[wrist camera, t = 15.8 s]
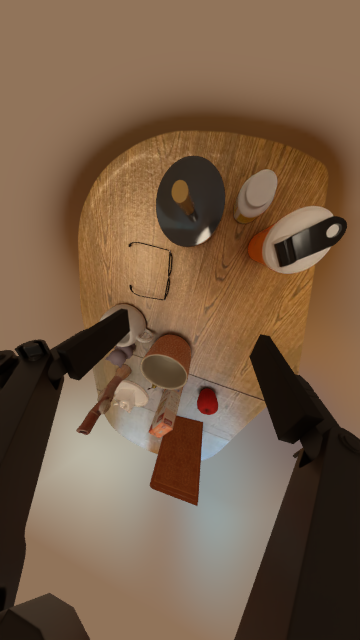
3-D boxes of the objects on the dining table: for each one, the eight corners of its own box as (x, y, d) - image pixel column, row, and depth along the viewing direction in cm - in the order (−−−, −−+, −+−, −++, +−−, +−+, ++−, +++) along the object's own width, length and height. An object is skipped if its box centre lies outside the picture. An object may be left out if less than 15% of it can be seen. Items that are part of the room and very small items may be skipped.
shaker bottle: (287, 249, 34) (364, 248, 17) (252, 271, 38) (285, 288, 21) (273, 217, 32) (343, 176, 14) (237, 243, 36) (260, 236, 18)
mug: (111, 326, 61) (94, 339, 52) (114, 295, 52) (95, 304, 44) (152, 345, 61) (142, 361, 52) (162, 317, 52) (152, 330, 44)
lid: (241, 192, 25) (253, 165, 17) (195, 259, 32) (189, 262, 24) (181, 138, 23) (164, 80, 15) (147, 221, 30) (124, 211, 22)
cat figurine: (139, 344, 62) (125, 363, 52) (134, 353, 66) (119, 372, 56) (124, 334, 62) (106, 351, 51) (119, 344, 66) (102, 362, 55)
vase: (121, 372, 76) (73, 434, 51) (117, 363, 73) (64, 424, 47) (137, 374, 74) (95, 440, 48) (133, 365, 71) (87, 431, 45)
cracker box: (174, 376, 67) (160, 422, 49) (184, 382, 68) (173, 430, 50) (163, 389, 74) (147, 432, 56) (172, 394, 75) (159, 439, 57)
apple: (204, 398, 70) (202, 420, 61) (194, 386, 67) (191, 408, 58) (221, 395, 66) (222, 418, 56) (212, 382, 63) (211, 405, 54)
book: (203, 422, 81) (198, 501, 56) (202, 428, 85) (197, 505, 59) (168, 413, 86) (148, 483, 60) (168, 420, 90) (150, 488, 64)
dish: (107, 378, 83) (93, 395, 73) (141, 380, 76) (130, 400, 66) (122, 402, 93) (111, 420, 84) (153, 406, 86) (145, 426, 76)
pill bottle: (261, 218, 32) (283, 204, 22) (233, 228, 34) (242, 219, 24) (261, 185, 30) (285, 151, 20) (231, 197, 32) (239, 173, 22)
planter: (197, 359, 58) (192, 391, 45) (162, 360, 64) (149, 388, 51) (188, 327, 52) (180, 353, 38) (151, 331, 57) (132, 355, 44)
